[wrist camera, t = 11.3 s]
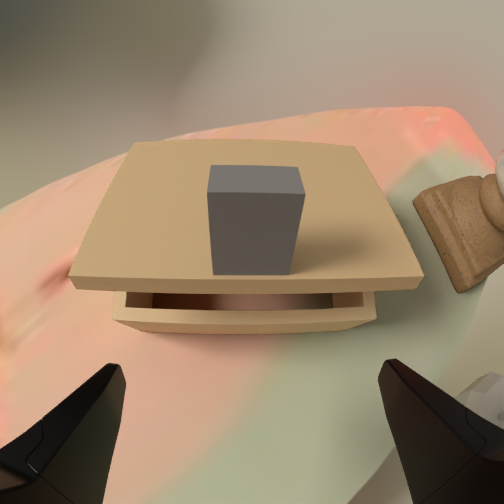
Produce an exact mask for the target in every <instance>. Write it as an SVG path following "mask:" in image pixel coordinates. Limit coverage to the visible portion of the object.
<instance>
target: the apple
mask: <svg viewBox="0 0 504 504" xmlns="http://www.w3.org/2000/svg"><path fill="white" fill-rule="evenodd" d="M455 399H456V400H457V401H459V402H460V403H461V404H463V405H464V406H465V407H467V408H469V409H470V410H472V411H473V412H475V413H476V414H478V415H480V416H481V417H483V418H484V419H486V420H488V421H490V422H491V423H493V424H495V425H497V426H499V427H501V428H502V429H504V376H502V375H499V374H496V373H493V372H490V373H488V374H486V375H484V376H482V377H480V378H478V379H477V380H475V381H474V382H473V383H472V384H471V385H470V386H469V387H468V388H466V389H465V390H464V391H463V392H462V393H461V394H459V395H458V396H457V397H456V398H455Z"/></svg>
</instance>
